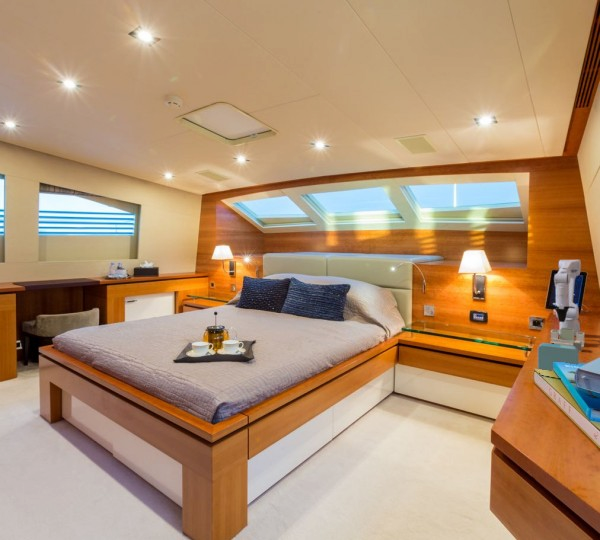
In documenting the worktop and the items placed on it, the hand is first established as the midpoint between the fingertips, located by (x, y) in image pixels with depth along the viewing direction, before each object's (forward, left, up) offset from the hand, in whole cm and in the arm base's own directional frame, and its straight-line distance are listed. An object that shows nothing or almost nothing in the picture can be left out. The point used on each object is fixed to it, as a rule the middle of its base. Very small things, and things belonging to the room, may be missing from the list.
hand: (562, 320), depth 191 cm
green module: (+5, +7, -10) cm, 12 cm away
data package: (+57, +45, -11) cm, 73 cm away
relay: (+13, +18, -11) cm, 25 cm away
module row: (+5, +7, -10) cm, 13 cm away
